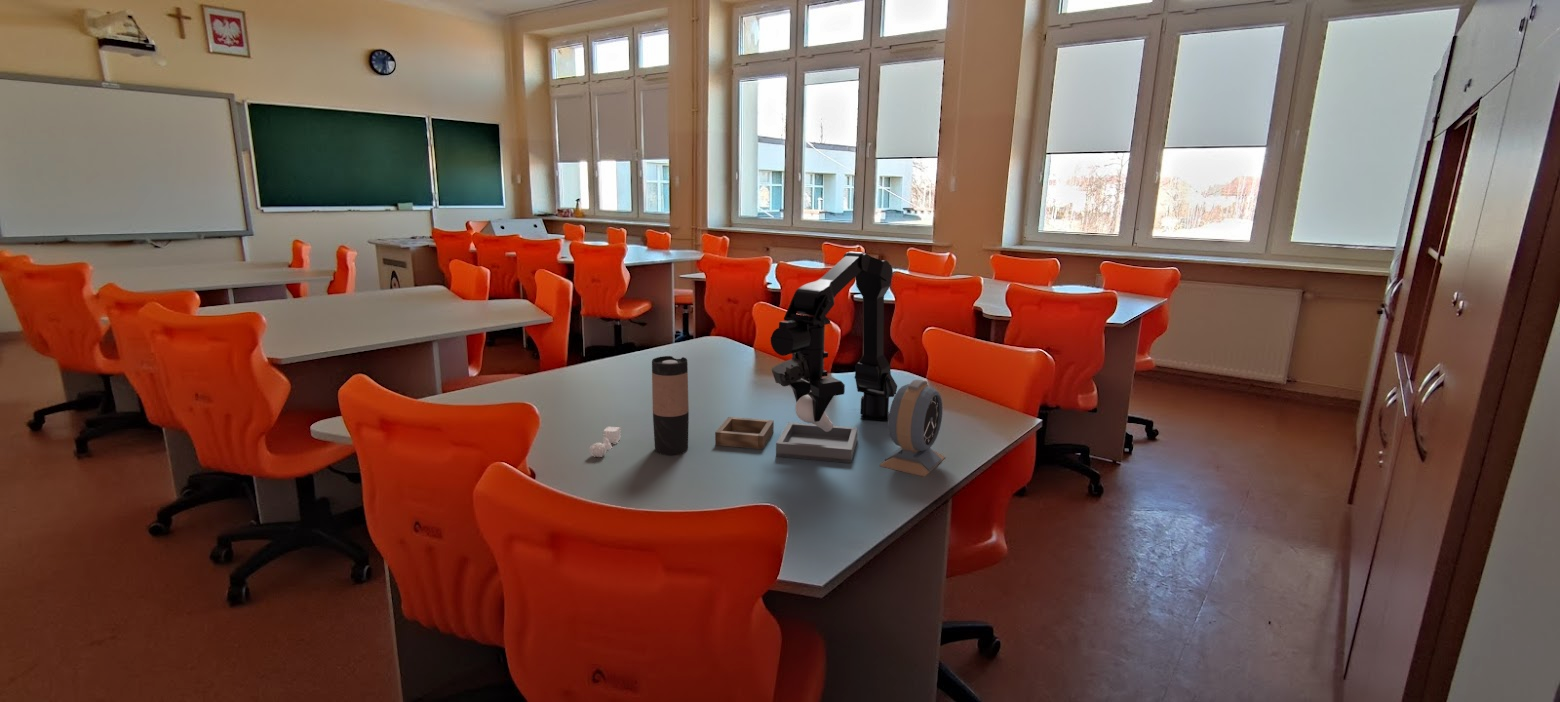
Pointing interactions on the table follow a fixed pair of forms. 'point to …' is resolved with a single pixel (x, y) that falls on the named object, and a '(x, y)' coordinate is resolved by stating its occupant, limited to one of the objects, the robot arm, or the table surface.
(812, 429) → the tray
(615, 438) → the game pieces
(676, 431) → the travel mug
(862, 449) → the table surface
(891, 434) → the alarm clock
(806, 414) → the lightbulb
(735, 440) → the socket block
